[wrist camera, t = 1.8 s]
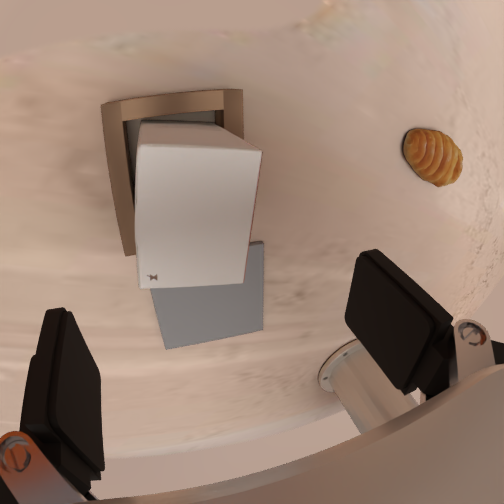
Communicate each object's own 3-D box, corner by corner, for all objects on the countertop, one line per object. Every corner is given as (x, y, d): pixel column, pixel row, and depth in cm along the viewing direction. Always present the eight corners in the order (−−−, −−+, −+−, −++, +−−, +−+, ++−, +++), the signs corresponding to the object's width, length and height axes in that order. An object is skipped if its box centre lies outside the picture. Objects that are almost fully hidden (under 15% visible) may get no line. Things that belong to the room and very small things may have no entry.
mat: (261, 241, 34) (263, 243, 33) (261, 326, 40) (262, 329, 39) (144, 260, 31) (144, 263, 30) (165, 346, 37) (165, 349, 36)
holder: (231, 88, 25) (242, 89, 22) (235, 220, 32) (245, 236, 29) (106, 102, 23) (100, 105, 20) (126, 237, 29) (125, 256, 26)
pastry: (390, 165, 34) (412, 175, 31) (408, 113, 32) (432, 119, 28) (435, 185, 38) (455, 196, 35) (451, 140, 35) (472, 148, 32)
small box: (205, 206, 30) (245, 287, 19) (137, 207, 28) (136, 292, 17) (214, 120, 26) (265, 149, 16) (140, 117, 24) (133, 144, 13)
